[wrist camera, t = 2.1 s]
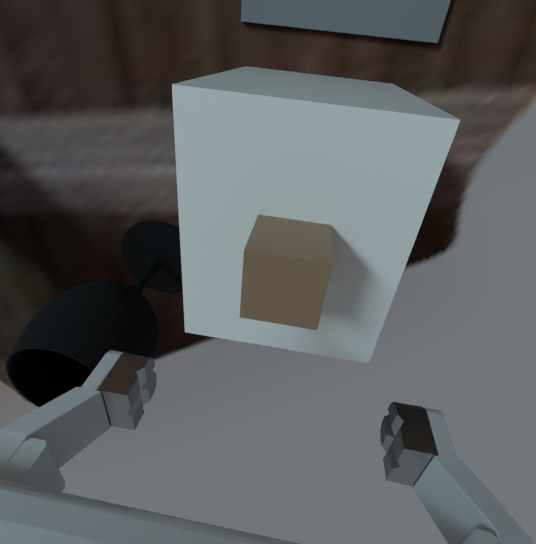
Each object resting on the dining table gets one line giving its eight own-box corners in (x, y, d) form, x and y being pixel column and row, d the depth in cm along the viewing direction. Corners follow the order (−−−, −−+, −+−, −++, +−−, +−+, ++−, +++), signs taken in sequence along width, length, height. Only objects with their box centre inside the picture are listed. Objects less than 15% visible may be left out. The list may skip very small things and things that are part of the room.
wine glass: (116, 272, 46) (-3, 400, 29) (129, 205, 40) (-10, 317, 24) (189, 302, 47) (115, 442, 30) (212, 241, 41) (136, 373, 25)
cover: (237, 224, 39) (163, 376, 21) (246, 66, 31) (131, 93, 13) (351, 241, 39) (375, 415, 20) (392, 83, 30) (498, 140, 12)
